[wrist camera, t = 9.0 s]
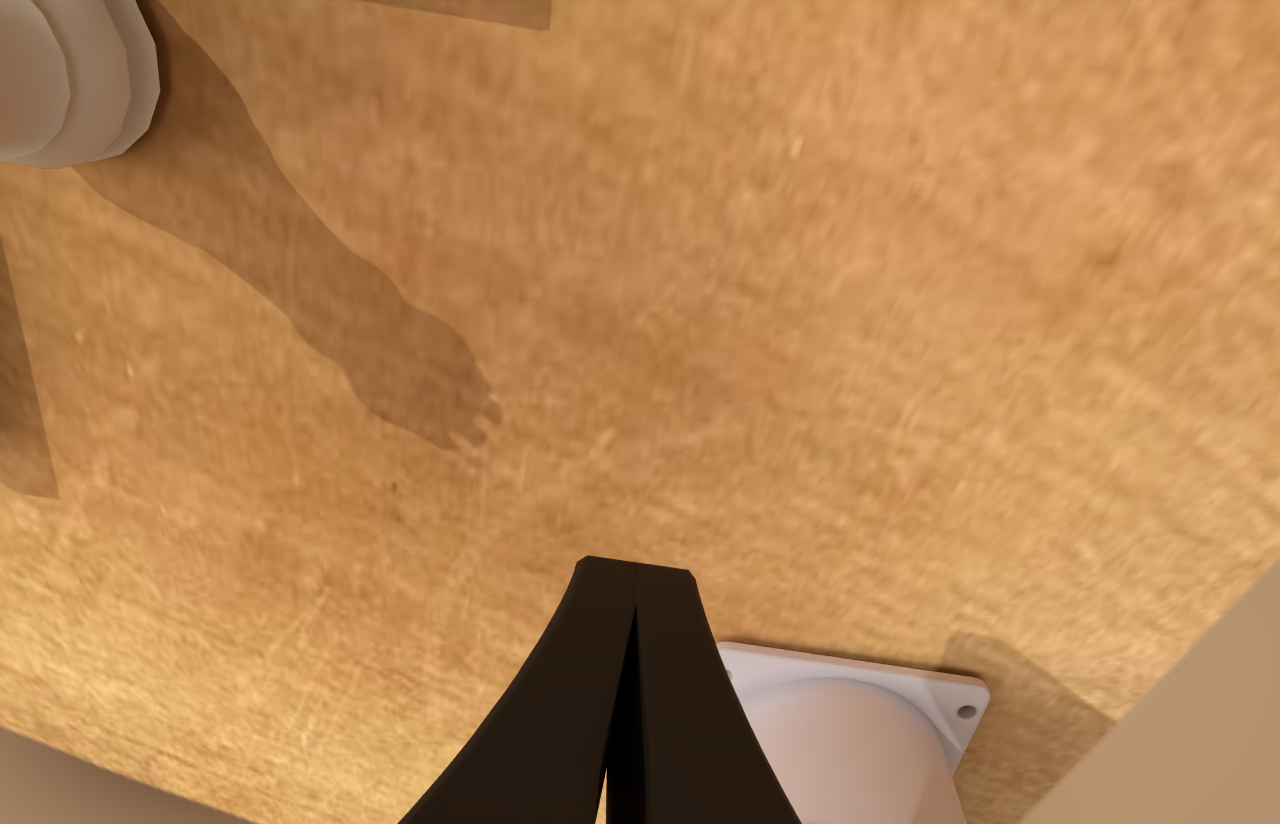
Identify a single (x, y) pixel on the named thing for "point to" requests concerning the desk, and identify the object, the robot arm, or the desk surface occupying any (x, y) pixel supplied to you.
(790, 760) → the robot arm
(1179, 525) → the desk surface
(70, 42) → the rook chess piece
